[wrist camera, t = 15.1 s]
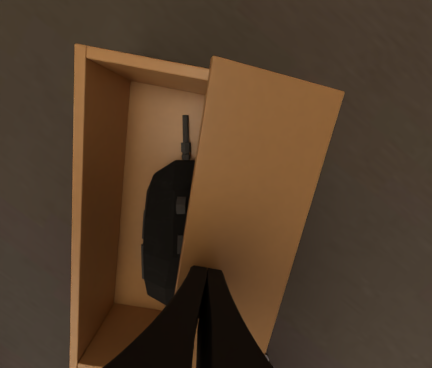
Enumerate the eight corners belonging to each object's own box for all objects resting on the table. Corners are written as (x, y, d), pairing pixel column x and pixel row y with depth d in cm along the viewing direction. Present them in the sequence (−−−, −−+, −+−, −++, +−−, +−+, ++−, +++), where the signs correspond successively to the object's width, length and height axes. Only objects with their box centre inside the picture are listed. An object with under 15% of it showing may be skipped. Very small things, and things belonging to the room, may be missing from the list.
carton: (127, 73, 15) (73, 42, 9) (296, 105, 15) (337, 92, 10) (110, 301, 19) (69, 368, 14) (240, 322, 20) (247, 395, 14)
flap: (211, 56, 8) (213, 54, 7) (339, 92, 9) (345, 91, 9) (154, 420, 12) (154, 427, 12) (247, 403, 14) (249, 409, 14)
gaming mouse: (232, 115, 15) (237, 111, 11) (229, 301, 18) (231, 347, 15) (138, 114, 15) (110, 110, 11) (153, 300, 19) (136, 345, 15)
